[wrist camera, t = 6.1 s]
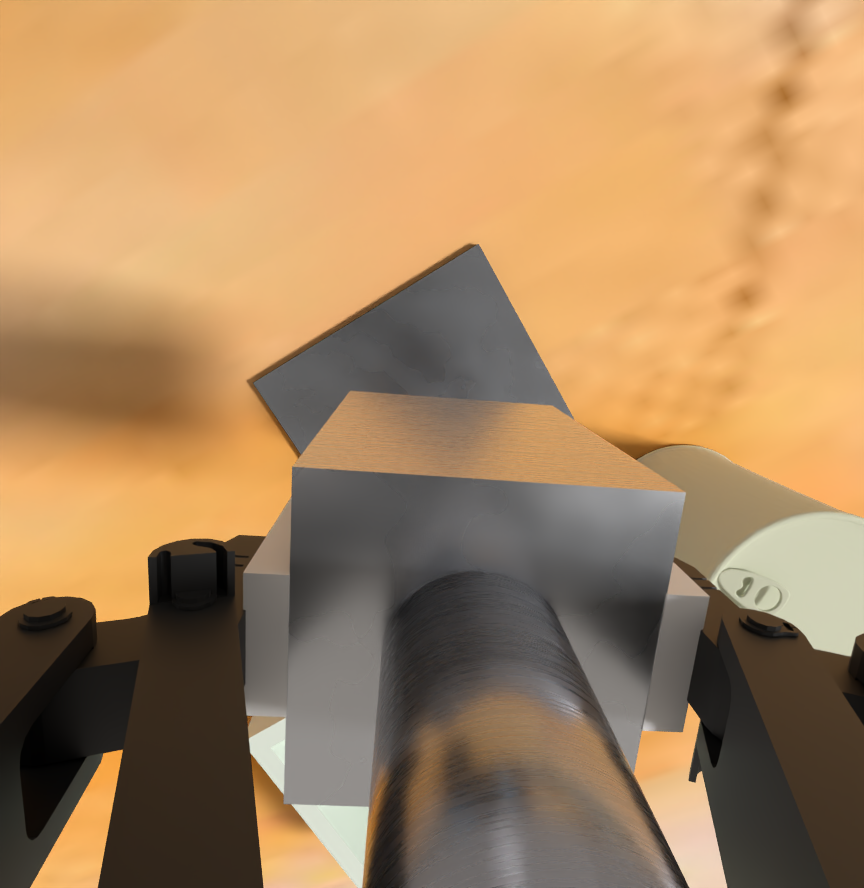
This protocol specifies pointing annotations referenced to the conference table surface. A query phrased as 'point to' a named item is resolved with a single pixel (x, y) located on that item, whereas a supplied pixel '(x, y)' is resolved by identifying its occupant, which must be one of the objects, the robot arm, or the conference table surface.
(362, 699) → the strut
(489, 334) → the stud plate
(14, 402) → the conference table surface
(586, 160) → the conference table surface
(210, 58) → the conference table surface
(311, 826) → the bin
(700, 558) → the can
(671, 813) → the conference table surface
